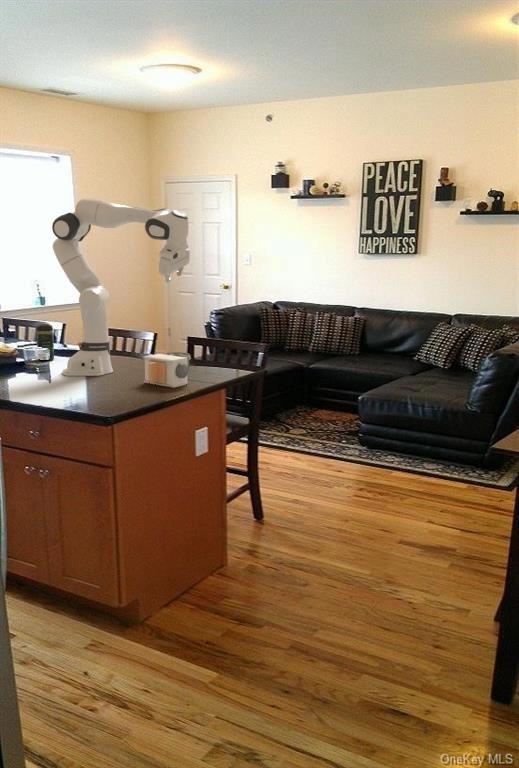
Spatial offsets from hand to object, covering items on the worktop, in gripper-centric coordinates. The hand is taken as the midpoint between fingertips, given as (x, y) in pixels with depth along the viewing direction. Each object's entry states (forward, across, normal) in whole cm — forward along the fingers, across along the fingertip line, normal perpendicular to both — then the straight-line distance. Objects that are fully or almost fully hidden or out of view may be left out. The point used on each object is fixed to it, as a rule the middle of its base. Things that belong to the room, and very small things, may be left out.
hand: (173, 278), depth 287 cm
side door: (+30, +36, +16) cm, 50 cm away
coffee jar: (+62, +11, -62) cm, 89 cm away
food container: (+40, +10, +14) cm, 44 cm away
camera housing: (+33, +30, +18) cm, 48 cm away
